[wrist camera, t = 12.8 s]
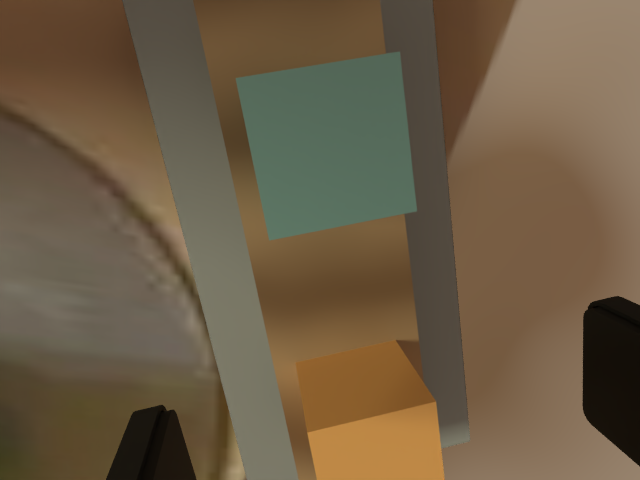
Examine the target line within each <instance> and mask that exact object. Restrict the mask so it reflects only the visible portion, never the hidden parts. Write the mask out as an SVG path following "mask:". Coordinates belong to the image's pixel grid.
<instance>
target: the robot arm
mask: <svg viewBox="0 0 640 480" xmlns="http://www.w3.org/2000/svg"><path fill="white" fill-rule="evenodd" d="M583 318H584V319H583V411H584V414H585V416H586V418H587V420H588V421H589V422H590V423H591V425H592V426H594V427H595V428H596V429H597V430H598V431H599V432H601V433H602V434H603V435H604V436H605V437H606V438H608V439H609V440H610V441H611V442H612V443H613V444H615V445H616V446H617V447H618V448H619V449H620V450H622V451H623V452H624V453H625V454H626V455H627V456H628V457H629V458H631V459H632V460H633V461H634V462H635V463H637V464H638V465H639V466H640V305H638V304H636V303H633V302H631V301H629V300H627V299H624V298H622V297H619V296H616V297H611V298H606V299H602V300H598V301H594V302H592V303H590V305H589V306H588V310H586V311H585V313H584V317H583ZM106 480H196V476H195V473H194V470H193V466H192V463H191V460H190V457H189V453H188V450H187V447H186V443H185V440H184V437H183V434H182V430H181V427H180V424H179V420H178V417H177V414H176V412H175V411H174V410H169V411H167V410H166V408H165V407H164V406H163V405H159V406H155V407H151V408H147V409H143V410H138V411H135V412H133V414H132V415H131V418H130V420H129V423H128V425H127V428H126V430H125V433H124V435H123V438H122V440H121V443H120V446H119V448H118V451H117V453H116V456H115V458H114V461H113V463H112V466H111V468H110V471H109V473H108V476H107V478H106Z"/></svg>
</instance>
